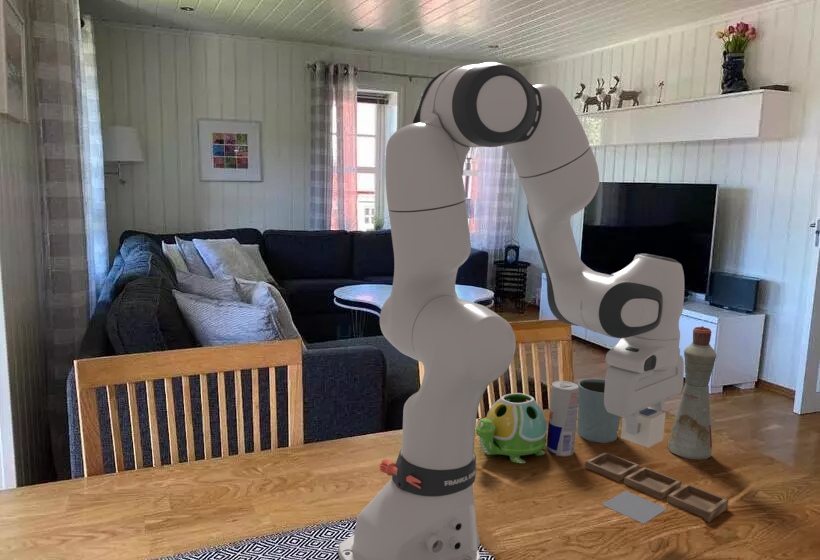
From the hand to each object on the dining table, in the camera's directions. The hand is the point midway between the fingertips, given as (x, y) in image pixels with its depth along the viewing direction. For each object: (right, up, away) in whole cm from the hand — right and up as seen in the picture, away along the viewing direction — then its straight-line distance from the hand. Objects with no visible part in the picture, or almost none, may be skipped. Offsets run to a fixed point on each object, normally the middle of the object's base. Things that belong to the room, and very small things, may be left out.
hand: (642, 428), depth 109 cm
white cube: (0, -2, 0) cm, 2 cm away
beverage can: (-8, -11, +25) cm, 28 cm away
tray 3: (+11, -15, +4) cm, 19 cm away
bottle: (+19, -12, +26) cm, 35 cm away
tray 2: (+6, -14, +10) cm, 18 cm away
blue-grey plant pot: (+2, -10, +34) cm, 35 cm away
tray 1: (0, -12, +17) cm, 21 cm away
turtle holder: (-19, -11, +23) cm, 32 cm away
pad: (-1, -15, +2) cm, 15 cm away
